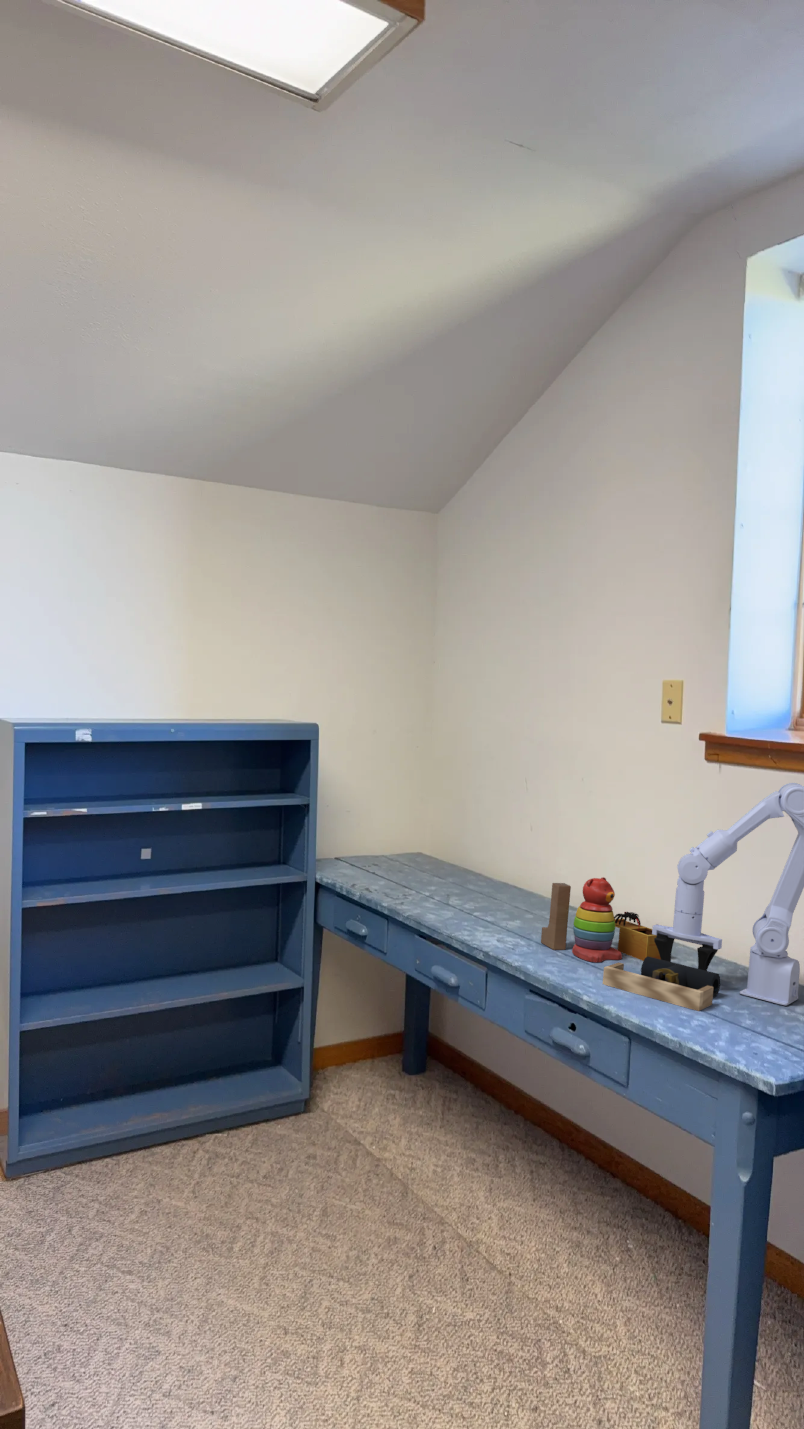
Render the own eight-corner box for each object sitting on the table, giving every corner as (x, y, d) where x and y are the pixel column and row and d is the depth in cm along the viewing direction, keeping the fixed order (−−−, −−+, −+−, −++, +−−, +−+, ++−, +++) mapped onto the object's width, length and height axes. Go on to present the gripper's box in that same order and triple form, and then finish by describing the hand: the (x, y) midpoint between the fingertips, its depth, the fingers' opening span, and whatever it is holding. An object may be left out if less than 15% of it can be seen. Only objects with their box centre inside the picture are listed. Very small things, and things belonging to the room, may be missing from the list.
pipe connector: (698, 979, 184) (628, 961, 193) (696, 1006, 184) (625, 987, 193) (721, 971, 193) (652, 954, 202) (719, 997, 193) (650, 979, 202)
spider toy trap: (620, 943, 231) (623, 905, 231) (665, 960, 218) (669, 920, 218) (600, 944, 228) (603, 906, 228) (645, 962, 215) (648, 921, 215)
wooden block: (565, 950, 220) (571, 885, 219) (553, 950, 219) (558, 885, 218) (552, 942, 226) (558, 880, 226) (540, 942, 225) (545, 879, 225)
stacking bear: (593, 963, 209) (600, 883, 209) (560, 952, 217) (566, 875, 217) (625, 959, 216) (632, 881, 216) (592, 948, 224) (598, 873, 224)
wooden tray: (712, 1004, 185) (713, 987, 185) (698, 1011, 180) (700, 993, 180) (617, 979, 198) (618, 962, 198) (602, 984, 193) (603, 967, 193)
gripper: (729, 916, 197) (724, 981, 198) (664, 902, 207) (659, 964, 207) (716, 920, 192) (710, 986, 192) (650, 906, 201) (644, 969, 201)
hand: (683, 975), depth 199 cm, fingers open, 7 cm apart
